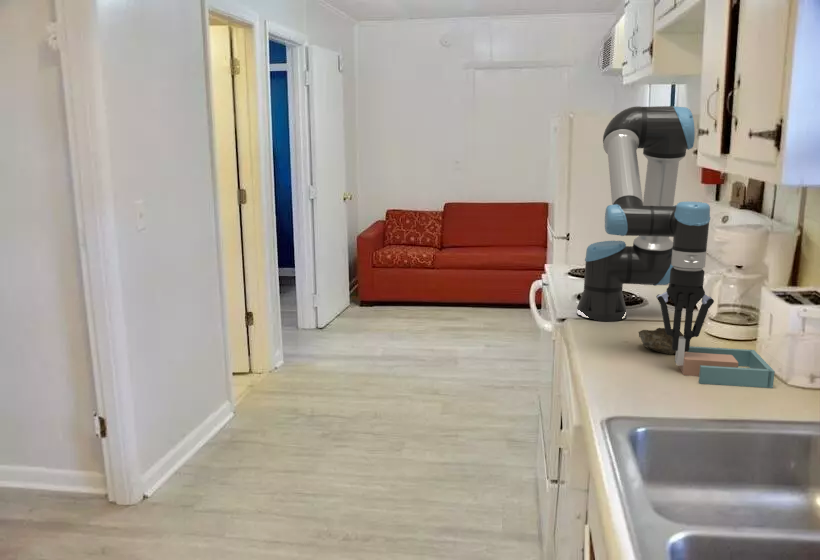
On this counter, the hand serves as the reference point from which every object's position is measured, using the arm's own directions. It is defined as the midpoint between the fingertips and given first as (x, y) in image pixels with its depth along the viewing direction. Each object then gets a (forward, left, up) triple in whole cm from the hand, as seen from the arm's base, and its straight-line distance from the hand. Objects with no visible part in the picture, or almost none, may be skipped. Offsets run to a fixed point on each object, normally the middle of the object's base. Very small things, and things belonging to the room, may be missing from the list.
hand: (679, 363), depth 174 cm
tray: (0, +11, -2) cm, 11 cm away
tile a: (0, +10, -2) cm, 10 cm away
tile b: (0, +4, -2) cm, 4 cm away
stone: (-17, -1, -2) cm, 17 cm away
